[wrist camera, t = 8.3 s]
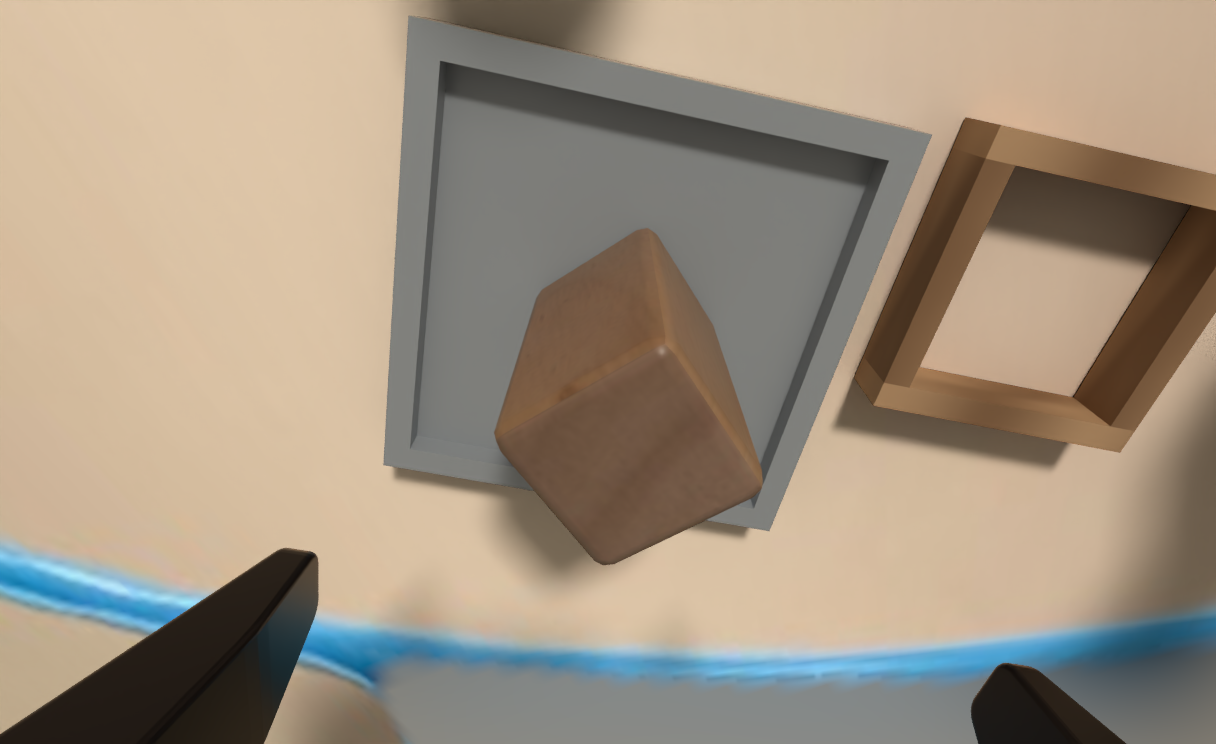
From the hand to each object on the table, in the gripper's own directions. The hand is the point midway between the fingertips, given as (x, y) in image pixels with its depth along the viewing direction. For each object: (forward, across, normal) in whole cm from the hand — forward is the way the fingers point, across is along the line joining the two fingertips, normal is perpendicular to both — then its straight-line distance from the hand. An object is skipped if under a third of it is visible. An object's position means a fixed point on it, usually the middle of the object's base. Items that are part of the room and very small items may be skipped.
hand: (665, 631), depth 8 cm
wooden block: (+12, 0, 0) cm, 12 cm away
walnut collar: (+13, -12, -2) cm, 18 cm away
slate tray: (+13, 0, 0) cm, 13 cm away
